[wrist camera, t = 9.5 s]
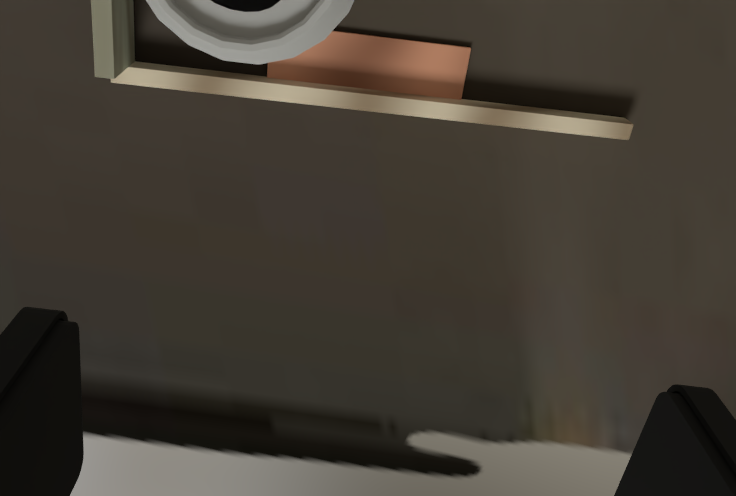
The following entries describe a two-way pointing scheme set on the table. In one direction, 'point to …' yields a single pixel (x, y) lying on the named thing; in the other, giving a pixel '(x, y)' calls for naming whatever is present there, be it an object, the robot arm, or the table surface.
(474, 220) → the table surface
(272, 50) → the can
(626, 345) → the table surface
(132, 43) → the tan bent flat bar
